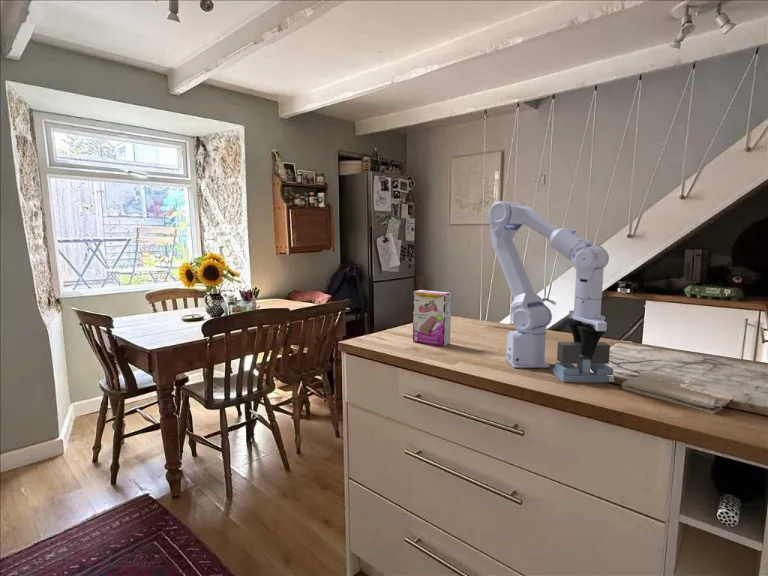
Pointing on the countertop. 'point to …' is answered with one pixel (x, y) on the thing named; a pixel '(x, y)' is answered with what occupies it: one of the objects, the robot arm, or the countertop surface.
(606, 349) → the dark grey rectangular block
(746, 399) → the countertop surface
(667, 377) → the washcloth
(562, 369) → the display stand
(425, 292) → the candy bar box
